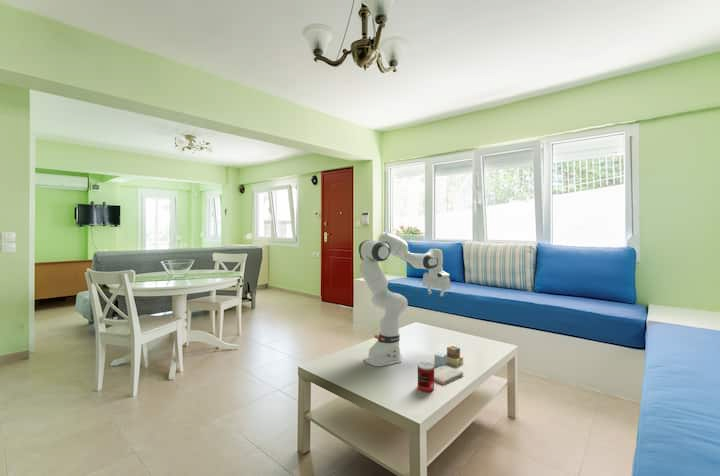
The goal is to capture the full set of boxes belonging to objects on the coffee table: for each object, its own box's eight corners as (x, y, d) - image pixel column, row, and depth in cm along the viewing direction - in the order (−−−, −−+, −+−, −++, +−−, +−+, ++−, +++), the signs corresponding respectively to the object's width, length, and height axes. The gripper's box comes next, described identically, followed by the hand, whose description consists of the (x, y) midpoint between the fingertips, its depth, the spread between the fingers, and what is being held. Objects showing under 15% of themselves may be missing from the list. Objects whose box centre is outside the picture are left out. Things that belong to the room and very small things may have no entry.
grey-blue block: (442, 367, 174) (442, 356, 174) (434, 365, 177) (434, 354, 177) (446, 364, 178) (446, 354, 178) (438, 362, 181) (438, 352, 181)
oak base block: (457, 367, 175) (457, 360, 175) (445, 363, 180) (445, 356, 180) (463, 363, 180) (463, 356, 180) (451, 360, 185) (451, 353, 185)
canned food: (431, 384, 154) (431, 361, 154) (436, 392, 146) (436, 368, 146) (416, 384, 154) (416, 361, 154) (419, 392, 146) (419, 368, 146)
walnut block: (453, 359, 176) (453, 350, 176) (446, 356, 181) (447, 347, 181) (460, 357, 179) (460, 348, 179) (453, 354, 183) (453, 345, 183)
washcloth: (464, 376, 164) (464, 370, 164) (443, 386, 153) (443, 380, 153) (445, 368, 173) (445, 363, 173) (424, 378, 162) (424, 372, 162)
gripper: (420, 272, 211) (420, 293, 211) (445, 275, 194) (445, 297, 195) (426, 271, 215) (427, 292, 215) (451, 274, 198) (451, 296, 198)
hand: (435, 294), depth 205 cm, fingers open, 8 cm apart
